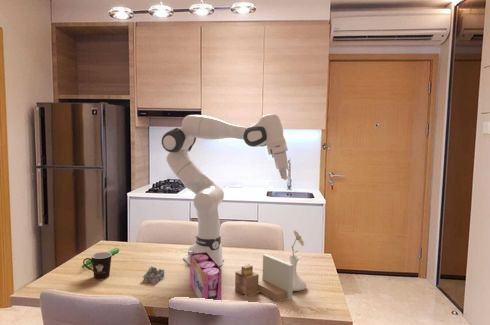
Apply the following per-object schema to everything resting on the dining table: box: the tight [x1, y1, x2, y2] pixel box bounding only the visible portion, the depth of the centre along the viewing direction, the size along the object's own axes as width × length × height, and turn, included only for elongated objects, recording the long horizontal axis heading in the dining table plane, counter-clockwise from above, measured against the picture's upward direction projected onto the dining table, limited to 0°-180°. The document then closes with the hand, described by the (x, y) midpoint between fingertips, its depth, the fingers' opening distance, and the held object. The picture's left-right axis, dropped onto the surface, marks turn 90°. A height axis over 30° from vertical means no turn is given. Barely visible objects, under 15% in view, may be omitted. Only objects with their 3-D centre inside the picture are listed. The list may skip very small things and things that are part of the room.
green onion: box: [81, 247, 120, 269], centre depth 188 cm, size 5×3×30 cm
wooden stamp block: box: [234, 264, 260, 297], centre depth 157 cm, size 8×6×11 cm
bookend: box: [258, 253, 293, 303], centre depth 156 cm, size 16×7×14 cm, turn 40°
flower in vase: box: [287, 229, 307, 292], centre depth 162 cm, size 13×11×25 cm
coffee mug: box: [82, 251, 113, 280], centre depth 169 cm, size 12×9×10 cm
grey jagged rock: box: [142, 265, 166, 284], centre depth 168 cm, size 11×8×4 cm
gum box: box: [189, 252, 223, 301], centre depth 154 cm, size 24×8×14 cm, turn 21°
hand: (284, 178), depth 169 cm, fingers open, 8 cm apart
